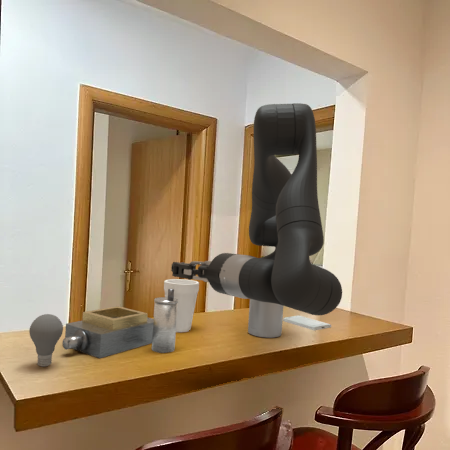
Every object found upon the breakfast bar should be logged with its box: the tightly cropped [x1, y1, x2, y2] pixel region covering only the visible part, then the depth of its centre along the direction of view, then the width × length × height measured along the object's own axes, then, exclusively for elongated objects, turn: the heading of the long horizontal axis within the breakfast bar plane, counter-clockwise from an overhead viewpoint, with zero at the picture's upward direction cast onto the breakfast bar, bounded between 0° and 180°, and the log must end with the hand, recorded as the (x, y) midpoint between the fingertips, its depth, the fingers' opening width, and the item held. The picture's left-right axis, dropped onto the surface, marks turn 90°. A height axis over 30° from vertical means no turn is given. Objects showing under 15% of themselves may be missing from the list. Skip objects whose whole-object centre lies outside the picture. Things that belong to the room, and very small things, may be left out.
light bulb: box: [29, 313, 64, 368], centre depth 81 cm, size 6×6×10 cm
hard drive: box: [282, 315, 332, 331], centre depth 129 cm, size 2×8×12 cm
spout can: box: [151, 289, 178, 354], centre depth 95 cm, size 5×5×14 cm
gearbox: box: [61, 305, 154, 359], centre depth 96 cm, size 22×12×7 cm, turn 146°
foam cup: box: [163, 278, 200, 333], centre depth 114 cm, size 10×9×13 cm
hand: (191, 267), depth 87 cm, fingers open, 8 cm apart
